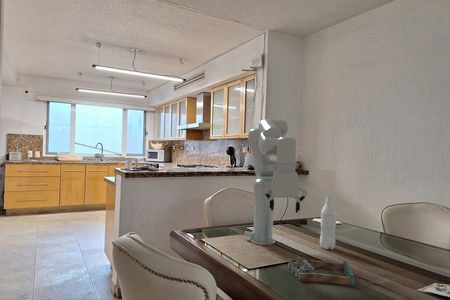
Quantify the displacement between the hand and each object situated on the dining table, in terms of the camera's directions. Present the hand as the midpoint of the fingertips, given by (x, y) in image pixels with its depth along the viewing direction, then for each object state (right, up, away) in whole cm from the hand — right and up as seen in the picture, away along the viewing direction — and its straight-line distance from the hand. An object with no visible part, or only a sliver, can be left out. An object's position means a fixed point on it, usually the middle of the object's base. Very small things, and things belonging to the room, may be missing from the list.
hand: (284, 211), depth 121 cm
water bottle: (+25, -23, +25) cm, 43 cm away
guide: (+13, -22, -7) cm, 27 cm away
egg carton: (+5, -22, -6) cm, 24 cm away
